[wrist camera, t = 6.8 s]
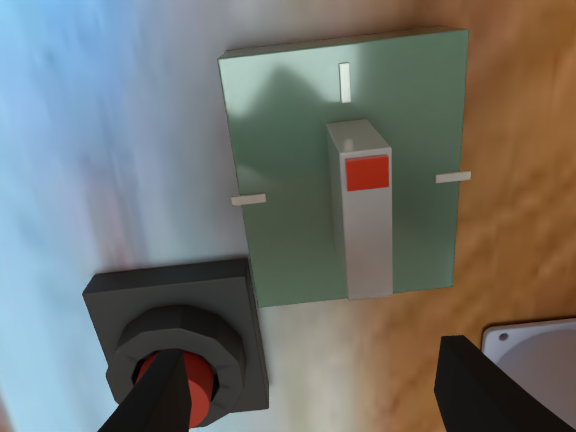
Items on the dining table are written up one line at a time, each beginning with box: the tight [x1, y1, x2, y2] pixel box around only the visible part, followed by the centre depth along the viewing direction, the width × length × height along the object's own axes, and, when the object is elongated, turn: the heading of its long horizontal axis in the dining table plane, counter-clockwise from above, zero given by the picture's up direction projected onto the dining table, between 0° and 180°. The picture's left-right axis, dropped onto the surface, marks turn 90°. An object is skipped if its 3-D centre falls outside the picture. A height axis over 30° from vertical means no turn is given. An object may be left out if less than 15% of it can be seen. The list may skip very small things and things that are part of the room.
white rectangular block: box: [326, 119, 393, 300], centre depth 16 cm, size 6×2×4 cm, turn 6°
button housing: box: [82, 259, 269, 428], centre depth 23 cm, size 8×9×4 cm
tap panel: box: [217, 26, 471, 308], centre depth 19 cm, size 10×11×3 cm
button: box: [135, 349, 214, 429], centre depth 21 cm, size 4×4×2 cm
